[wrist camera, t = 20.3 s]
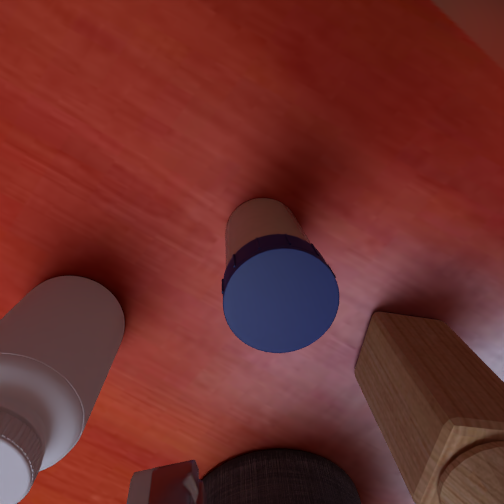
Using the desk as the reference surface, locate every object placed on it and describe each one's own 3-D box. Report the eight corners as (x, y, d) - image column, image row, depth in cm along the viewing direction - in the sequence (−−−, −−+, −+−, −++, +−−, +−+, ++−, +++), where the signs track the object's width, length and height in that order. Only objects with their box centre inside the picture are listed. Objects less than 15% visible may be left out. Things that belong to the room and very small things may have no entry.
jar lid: (248, 217, 22) (250, 230, 20) (347, 256, 23) (360, 273, 21) (207, 311, 24) (205, 332, 21) (301, 343, 25) (308, 366, 23)
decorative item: (350, 373, 37) (480, 657, 18) (371, 307, 35) (544, 553, 16) (420, 381, 38) (613, 662, 19) (444, 317, 36) (691, 564, 17)
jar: (242, 186, 30) (252, 231, 20) (310, 214, 32) (352, 271, 21) (214, 252, 32) (210, 326, 22) (280, 277, 33) (305, 358, 23)
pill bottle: (136, 285, 33) (70, 427, 19) (116, 369, 35) (44, 549, 21) (31, 259, 31) (-125, 390, 17) (18, 348, 34) (-127, 525, 20)
